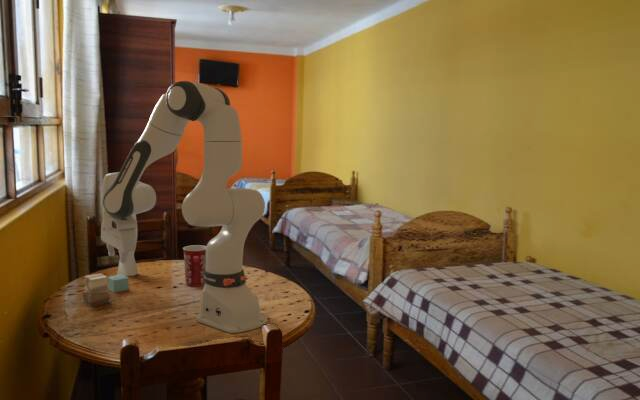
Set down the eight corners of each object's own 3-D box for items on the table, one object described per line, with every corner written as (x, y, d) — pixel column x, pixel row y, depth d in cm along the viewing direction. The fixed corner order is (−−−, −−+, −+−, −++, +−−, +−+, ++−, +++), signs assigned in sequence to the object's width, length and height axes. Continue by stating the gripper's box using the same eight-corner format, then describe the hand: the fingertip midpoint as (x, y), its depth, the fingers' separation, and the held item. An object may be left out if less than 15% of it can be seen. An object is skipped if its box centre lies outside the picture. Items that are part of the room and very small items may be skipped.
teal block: (128, 291, 172) (128, 277, 171) (114, 294, 168) (113, 280, 168) (122, 288, 175) (122, 274, 175) (108, 291, 172) (107, 276, 171)
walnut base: (109, 301, 160) (109, 292, 159) (90, 305, 156) (89, 296, 155) (102, 296, 164) (101, 287, 163) (83, 300, 160) (82, 291, 159)
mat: (119, 304, 159) (119, 302, 159) (87, 311, 152) (87, 309, 152) (104, 294, 168) (104, 292, 167) (73, 301, 161) (73, 299, 160)
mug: (183, 280, 186) (183, 244, 184) (208, 279, 189) (208, 244, 187) (182, 291, 174) (182, 253, 172) (208, 290, 176) (209, 253, 174)
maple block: (107, 292, 159) (107, 277, 159) (91, 295, 156) (90, 279, 155) (101, 288, 163) (100, 273, 162) (85, 291, 159) (84, 276, 159)
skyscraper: (127, 279, 185) (126, 204, 181) (111, 276, 188) (110, 202, 184) (142, 273, 192) (141, 201, 188) (126, 271, 195) (125, 200, 191)
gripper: (95, 214, 173) (96, 253, 176) (119, 226, 159) (120, 268, 161) (113, 213, 178) (114, 250, 180) (139, 224, 163) (139, 264, 166)
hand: (117, 259), depth 171 cm, fingers open, 8 cm apart
